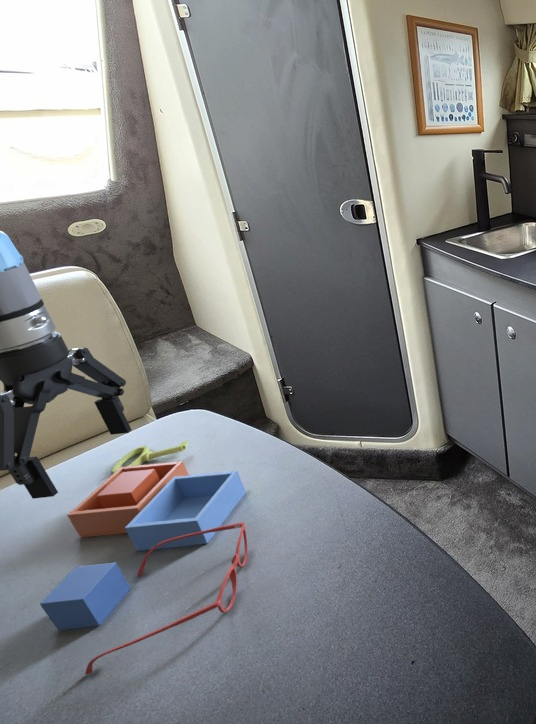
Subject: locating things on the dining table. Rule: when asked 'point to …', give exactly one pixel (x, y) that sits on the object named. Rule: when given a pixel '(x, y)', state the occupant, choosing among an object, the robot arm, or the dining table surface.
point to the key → (148, 455)
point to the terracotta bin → (108, 521)
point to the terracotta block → (128, 488)
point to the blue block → (86, 596)
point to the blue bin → (186, 510)
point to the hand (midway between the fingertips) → (86, 461)
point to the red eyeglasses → (218, 603)
